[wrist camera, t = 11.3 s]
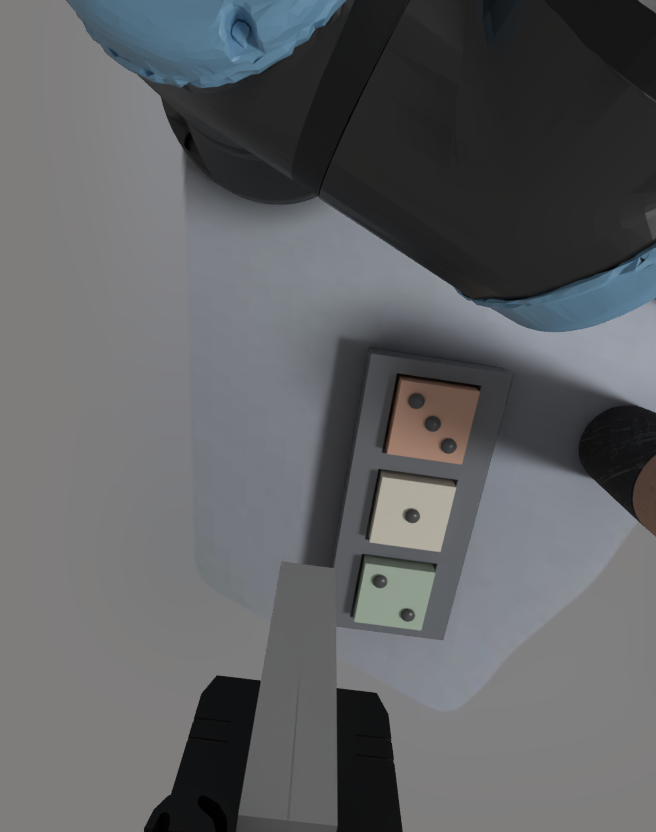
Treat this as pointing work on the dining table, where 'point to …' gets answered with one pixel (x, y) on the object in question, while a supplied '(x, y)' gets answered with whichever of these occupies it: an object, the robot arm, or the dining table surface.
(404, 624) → the button two
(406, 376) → the button three
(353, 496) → the keypad board
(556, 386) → the dining table surface
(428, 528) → the button one
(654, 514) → the travel mug
